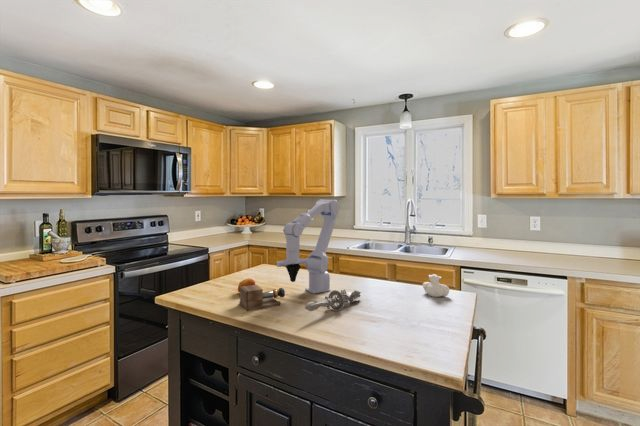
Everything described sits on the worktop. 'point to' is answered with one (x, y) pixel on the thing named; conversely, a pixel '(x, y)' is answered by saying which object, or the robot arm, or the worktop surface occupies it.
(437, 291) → the white rounded figure
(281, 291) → the shaft
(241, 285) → the fruit
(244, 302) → the bearing housing
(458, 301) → the worktop surface
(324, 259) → the robot arm
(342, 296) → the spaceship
